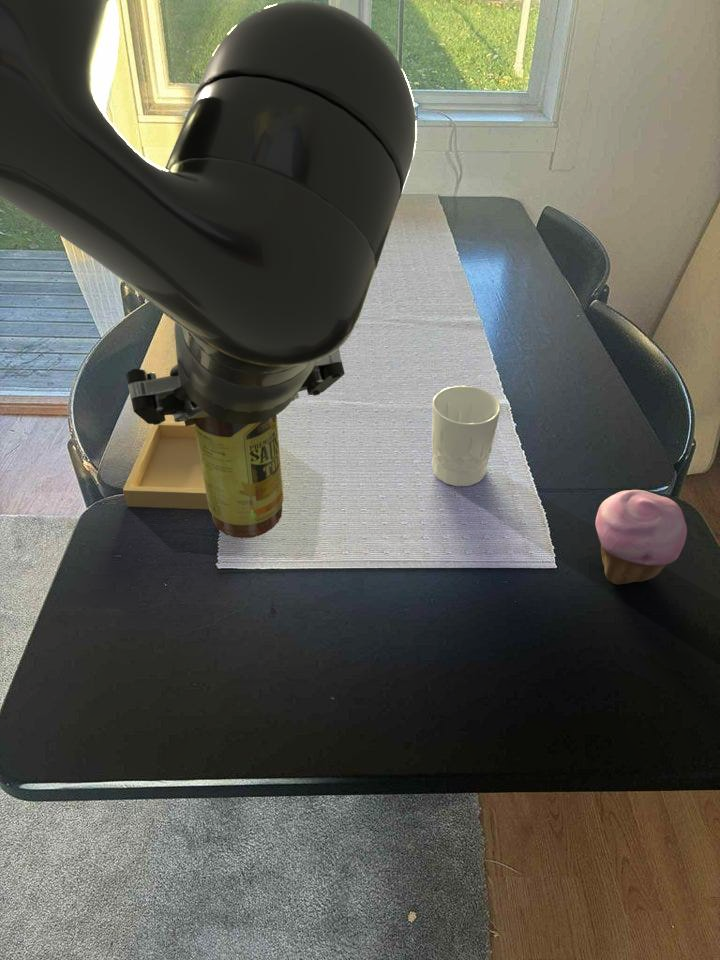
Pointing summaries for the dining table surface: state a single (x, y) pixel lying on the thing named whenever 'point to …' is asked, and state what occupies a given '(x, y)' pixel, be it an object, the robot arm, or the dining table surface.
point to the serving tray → (168, 470)
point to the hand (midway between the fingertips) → (231, 404)
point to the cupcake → (639, 535)
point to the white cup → (463, 433)
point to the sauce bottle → (241, 474)
